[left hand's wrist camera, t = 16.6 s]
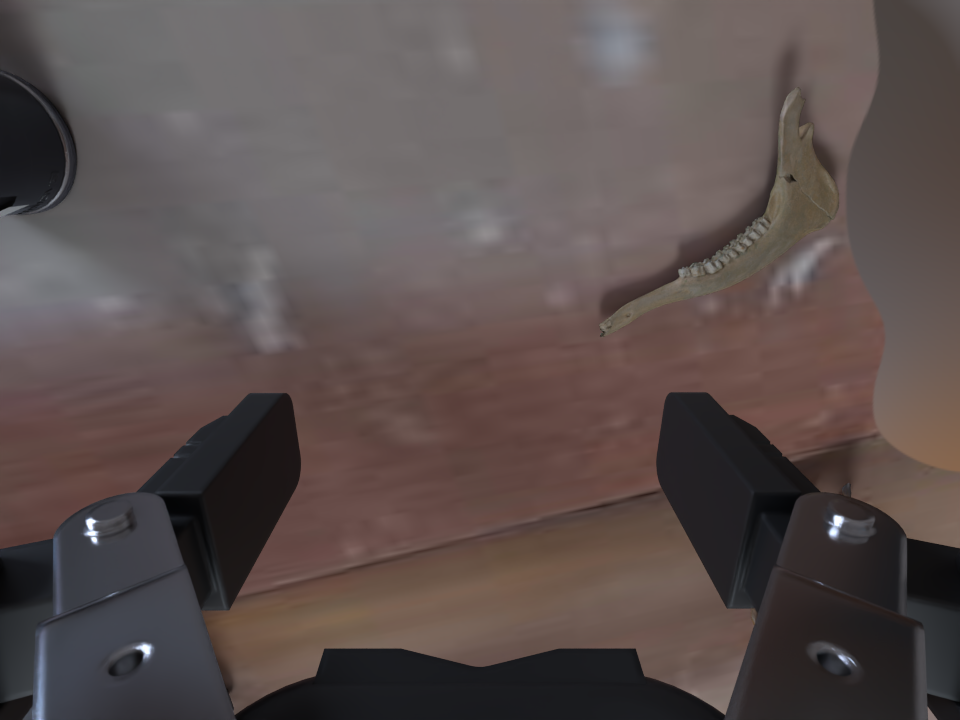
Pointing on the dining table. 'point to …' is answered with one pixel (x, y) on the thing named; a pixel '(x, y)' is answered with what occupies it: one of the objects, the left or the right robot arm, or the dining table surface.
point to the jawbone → (757, 223)
